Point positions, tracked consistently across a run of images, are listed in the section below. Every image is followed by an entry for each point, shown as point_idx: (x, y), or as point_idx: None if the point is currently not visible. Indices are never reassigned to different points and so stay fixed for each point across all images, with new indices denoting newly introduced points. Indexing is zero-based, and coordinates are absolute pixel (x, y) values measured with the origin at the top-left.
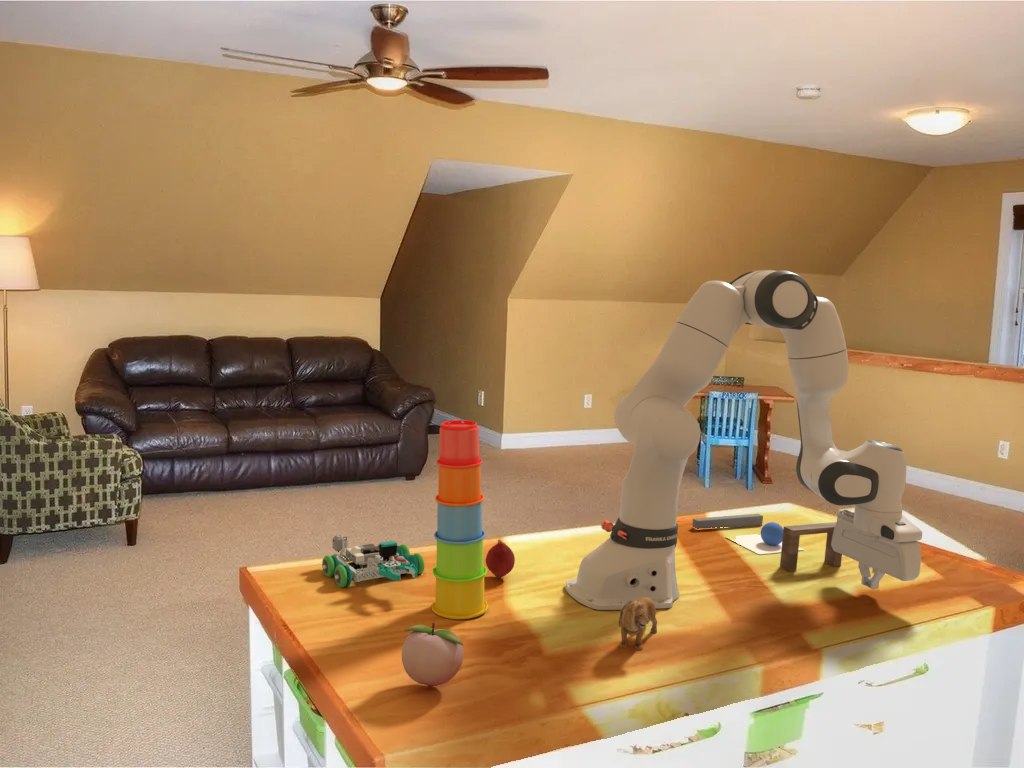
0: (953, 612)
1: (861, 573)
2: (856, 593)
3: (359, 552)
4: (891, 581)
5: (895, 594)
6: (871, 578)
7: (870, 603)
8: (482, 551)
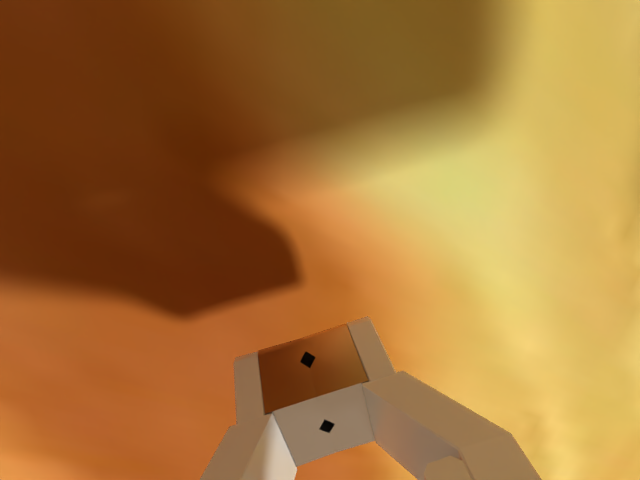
0: None
1: (417, 391)
2: (324, 223)
3: None
4: None
5: None
6: (256, 438)
7: (68, 237)
8: None
